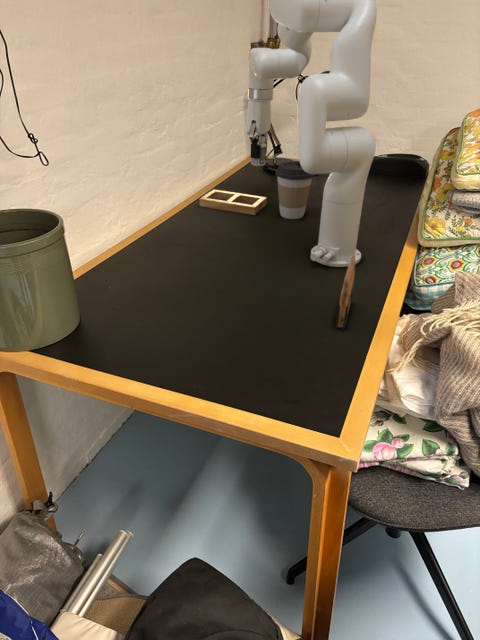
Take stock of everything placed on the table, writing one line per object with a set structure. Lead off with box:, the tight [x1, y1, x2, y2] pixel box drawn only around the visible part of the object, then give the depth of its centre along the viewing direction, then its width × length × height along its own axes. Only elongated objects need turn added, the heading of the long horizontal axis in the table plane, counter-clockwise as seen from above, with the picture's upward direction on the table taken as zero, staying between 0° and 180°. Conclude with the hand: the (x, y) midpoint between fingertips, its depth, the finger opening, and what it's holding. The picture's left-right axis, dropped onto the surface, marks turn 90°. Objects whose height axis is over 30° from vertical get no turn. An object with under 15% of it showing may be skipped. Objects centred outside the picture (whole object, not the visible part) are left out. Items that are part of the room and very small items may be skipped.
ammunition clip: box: [335, 254, 356, 330], centre depth 101 cm, size 11×2×12 cm, turn 163°
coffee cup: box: [275, 160, 315, 220], centre depth 149 cm, size 11×11×15 cm
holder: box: [198, 189, 268, 216], centre depth 159 cm, size 10×19×2 cm, turn 67°
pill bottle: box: [250, 136, 267, 167], centre depth 160 cm, size 5×5×8 cm
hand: (258, 155), depth 161 cm, fingers closed on pill bottle, 4 cm apart
